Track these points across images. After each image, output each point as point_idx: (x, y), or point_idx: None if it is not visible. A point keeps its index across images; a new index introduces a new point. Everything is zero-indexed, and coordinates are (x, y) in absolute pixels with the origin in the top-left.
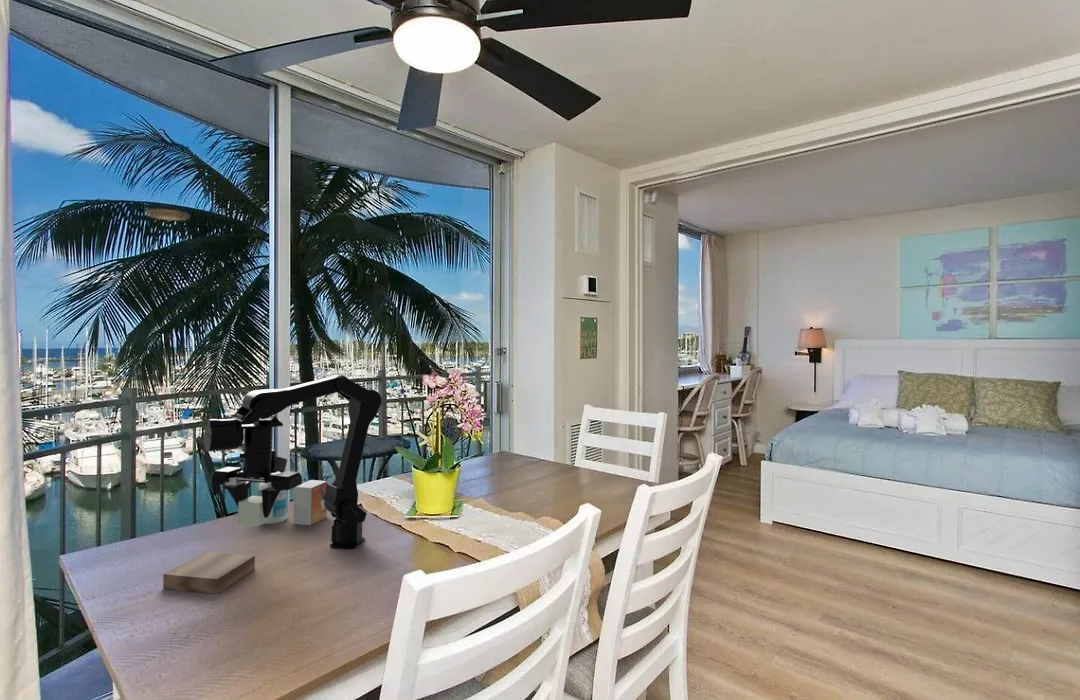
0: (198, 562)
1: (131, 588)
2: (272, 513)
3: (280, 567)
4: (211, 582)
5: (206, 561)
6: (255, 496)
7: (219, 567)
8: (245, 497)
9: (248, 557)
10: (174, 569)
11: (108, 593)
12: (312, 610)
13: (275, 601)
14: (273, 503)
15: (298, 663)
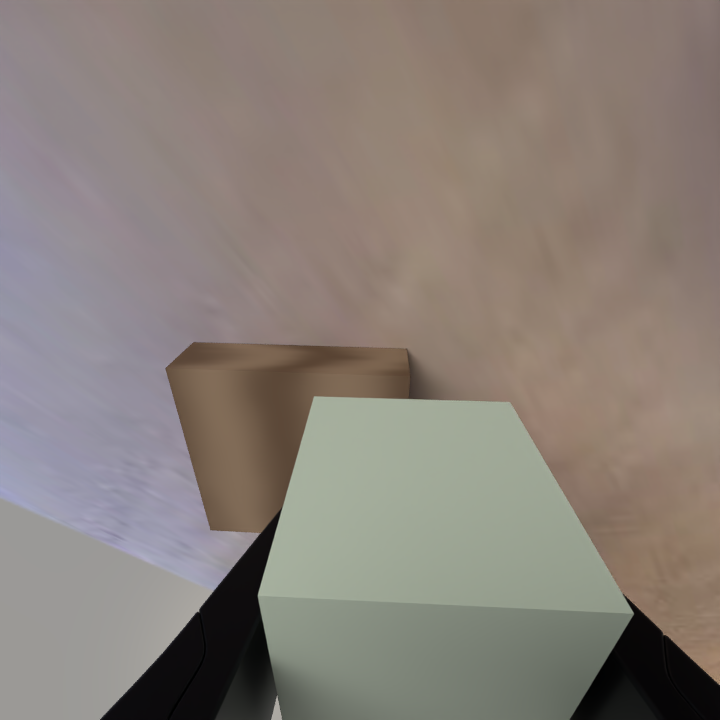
0: (235, 455)
1: (147, 498)
2: (529, 438)
3: (504, 317)
4: None
5: (256, 446)
6: (326, 619)
7: None
8: (251, 688)
9: (392, 395)
10: (210, 505)
11: (124, 521)
12: (703, 543)
13: (583, 517)
14: (640, 623)
15: (700, 662)
